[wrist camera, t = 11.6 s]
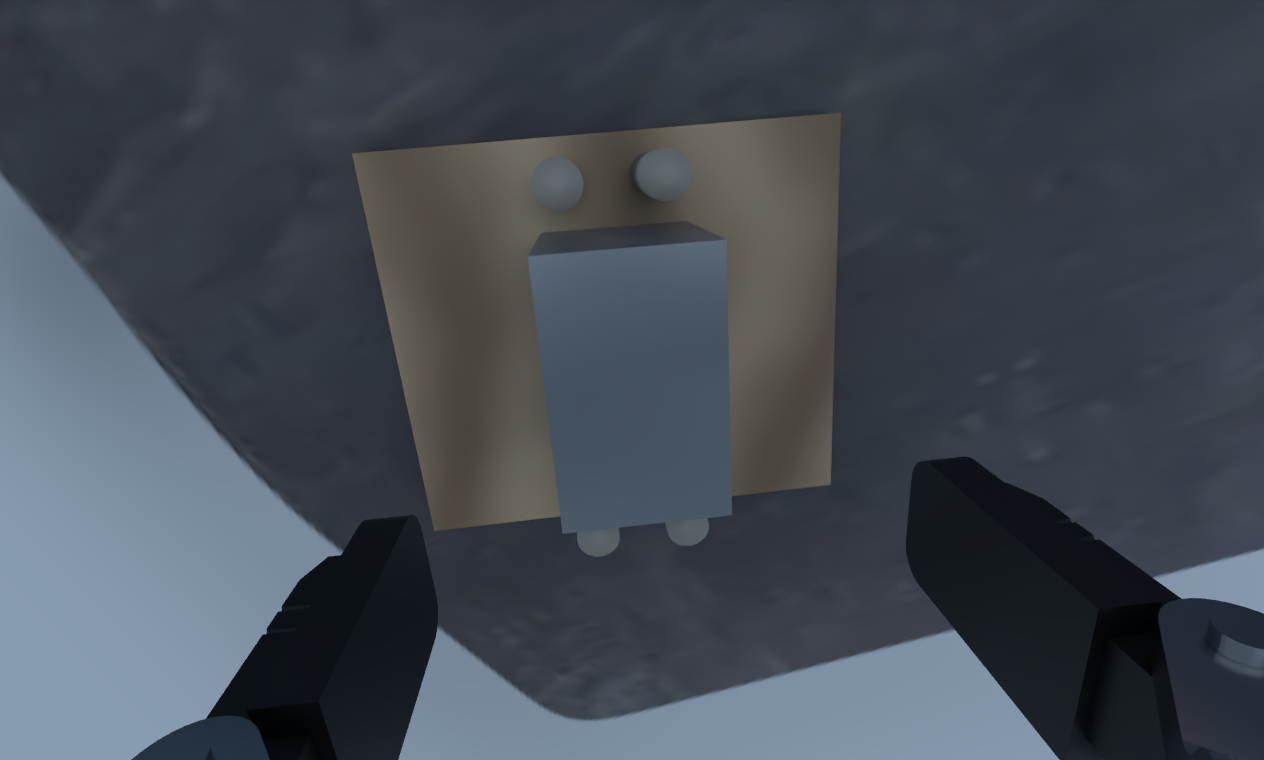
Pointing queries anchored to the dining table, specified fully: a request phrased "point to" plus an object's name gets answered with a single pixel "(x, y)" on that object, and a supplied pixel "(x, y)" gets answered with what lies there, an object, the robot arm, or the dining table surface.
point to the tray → (585, 199)
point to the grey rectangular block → (635, 372)
